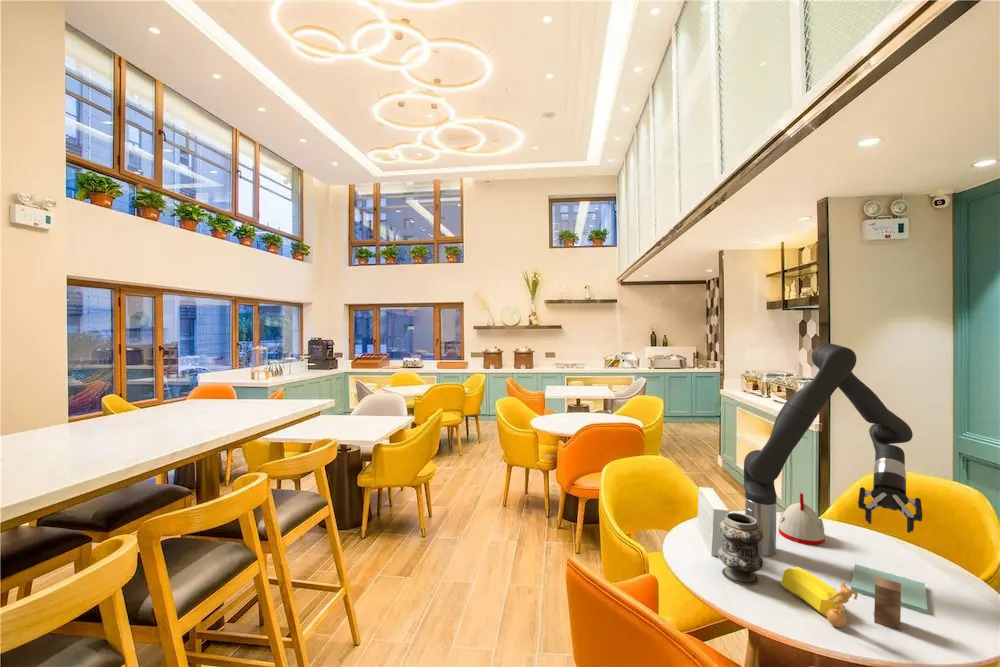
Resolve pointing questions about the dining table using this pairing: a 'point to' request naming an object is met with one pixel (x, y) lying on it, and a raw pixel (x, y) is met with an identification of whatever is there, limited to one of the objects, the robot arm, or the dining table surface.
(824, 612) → the yellow faceted bar
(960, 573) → the dining table surface
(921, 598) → the teal board
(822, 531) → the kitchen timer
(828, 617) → the figurine
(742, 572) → the apothecary jar
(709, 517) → the skincare box
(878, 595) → the walnut block
